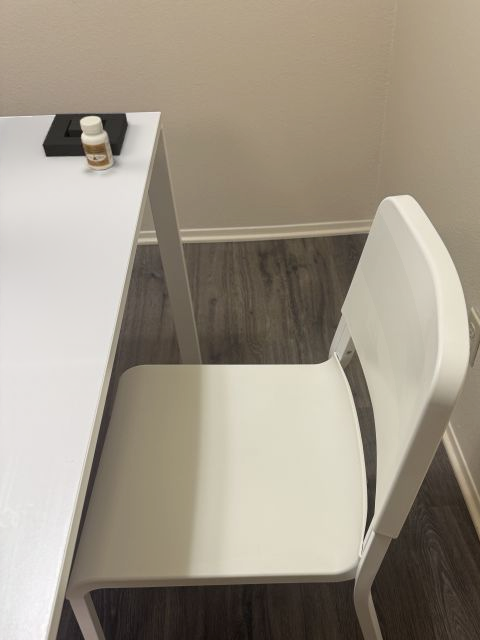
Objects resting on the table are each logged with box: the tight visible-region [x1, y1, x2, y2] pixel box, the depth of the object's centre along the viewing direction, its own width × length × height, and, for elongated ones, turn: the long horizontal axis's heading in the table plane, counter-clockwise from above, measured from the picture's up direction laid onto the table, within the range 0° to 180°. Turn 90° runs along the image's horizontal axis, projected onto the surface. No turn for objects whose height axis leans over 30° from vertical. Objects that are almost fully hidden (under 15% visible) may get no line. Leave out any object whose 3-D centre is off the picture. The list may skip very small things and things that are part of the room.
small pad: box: [68, 117, 101, 137], centre depth 112 cm, size 5×5×3 cm
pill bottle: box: [80, 116, 115, 171], centre depth 104 cm, size 4×4×8 cm
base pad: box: [41, 112, 129, 157], centre depth 112 cm, size 13×12×2 cm
